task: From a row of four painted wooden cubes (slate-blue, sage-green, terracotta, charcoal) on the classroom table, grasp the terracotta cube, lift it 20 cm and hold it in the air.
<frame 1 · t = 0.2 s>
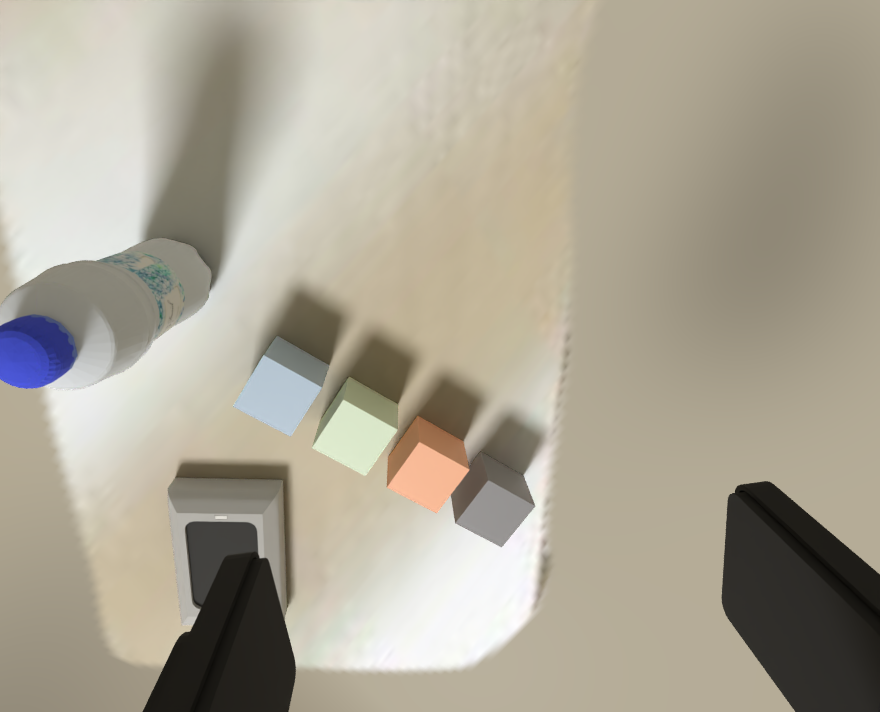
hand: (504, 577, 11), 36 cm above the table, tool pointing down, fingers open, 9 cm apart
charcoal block: (486, 482, 53), on the table
gray dark-screened device: (236, 542, 54), on the table
bottle: (178, 274, 44), on the table
sage-green block: (359, 412, 49), on the table
slate-blue block: (289, 373, 48), on the table
terracotta block: (425, 448, 51), on the table
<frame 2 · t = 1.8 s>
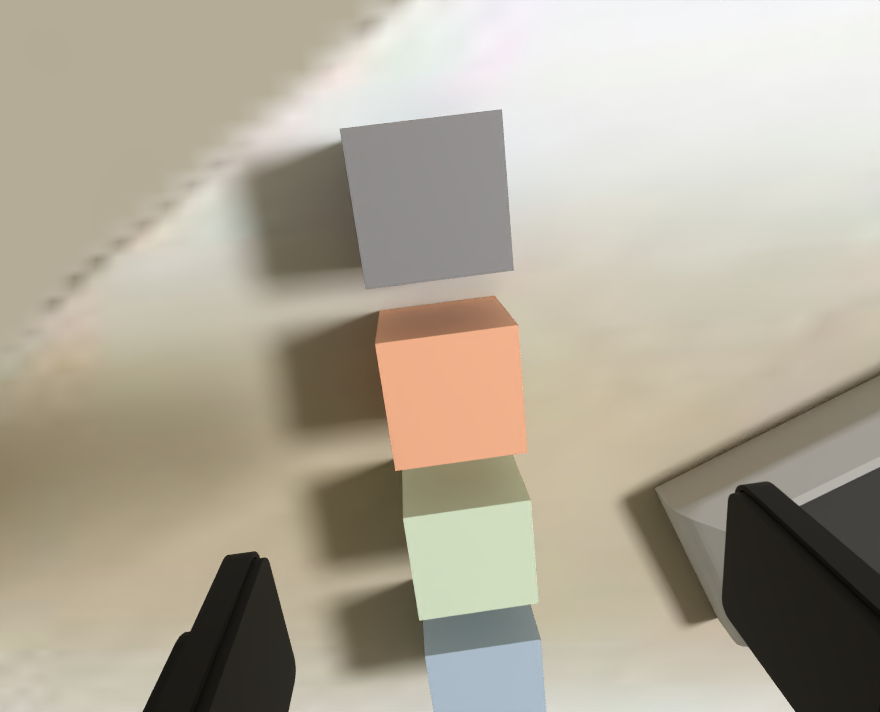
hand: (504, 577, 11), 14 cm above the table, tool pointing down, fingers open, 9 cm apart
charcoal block: (424, 196, 23), on the table
gray dark-screened device: (813, 484, 29), on the table
sage-green block: (460, 494, 27), on the table
slate-blue block: (473, 607, 29), on the table
terracotta block: (443, 357, 25), on the table
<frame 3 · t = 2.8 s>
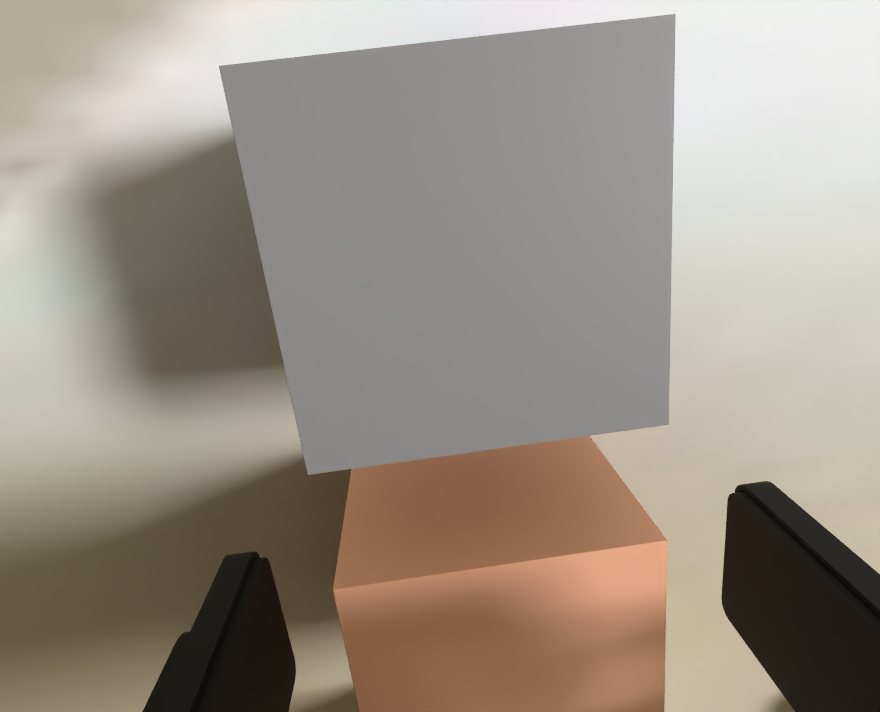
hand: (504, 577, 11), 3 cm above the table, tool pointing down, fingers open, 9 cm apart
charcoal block: (441, 230, 12), on the table
terracotta block: (473, 514, 14), on the table
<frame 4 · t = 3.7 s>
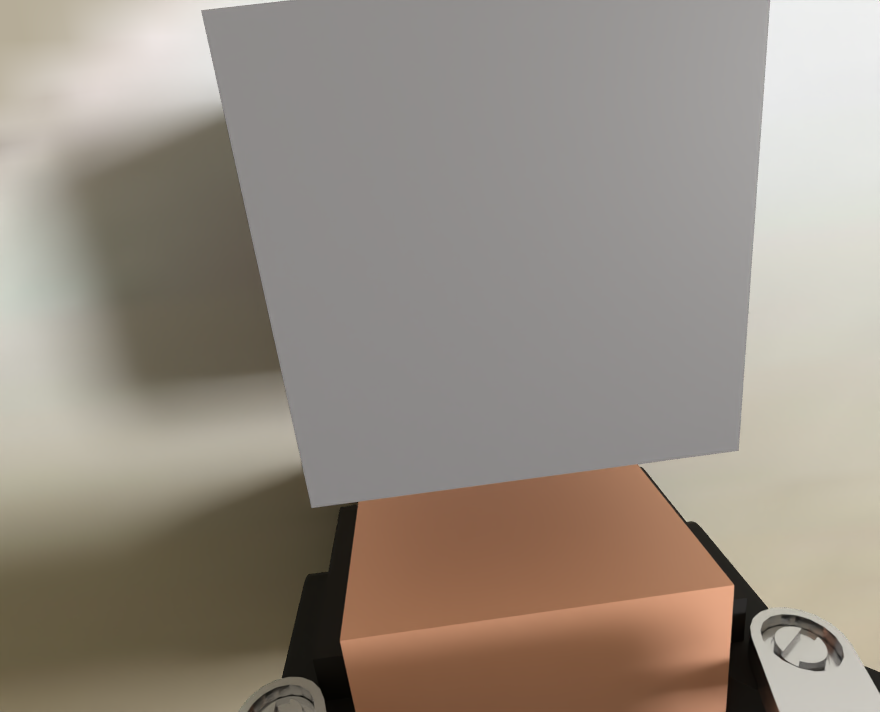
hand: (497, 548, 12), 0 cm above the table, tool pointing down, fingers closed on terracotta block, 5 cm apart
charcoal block: (461, 220, 10), on the table
terracotta block: (493, 533, 12), on the table, touching gripper
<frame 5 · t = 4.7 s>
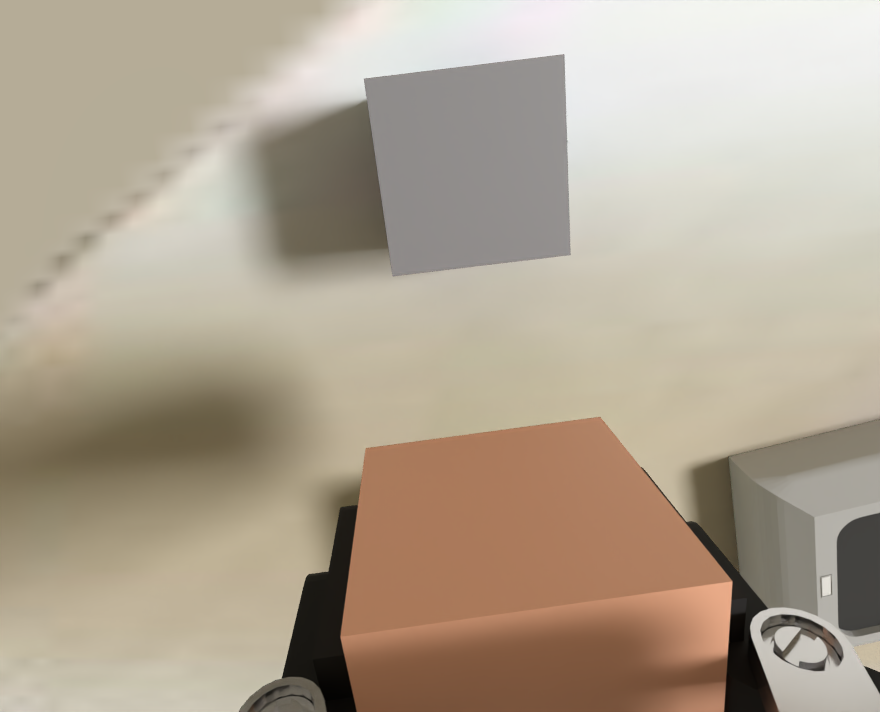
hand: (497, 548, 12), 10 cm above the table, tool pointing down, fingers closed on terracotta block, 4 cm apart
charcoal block: (460, 166, 19), on the table
terracotta block: (493, 531, 13), point 10 cm above the table, touching gripper
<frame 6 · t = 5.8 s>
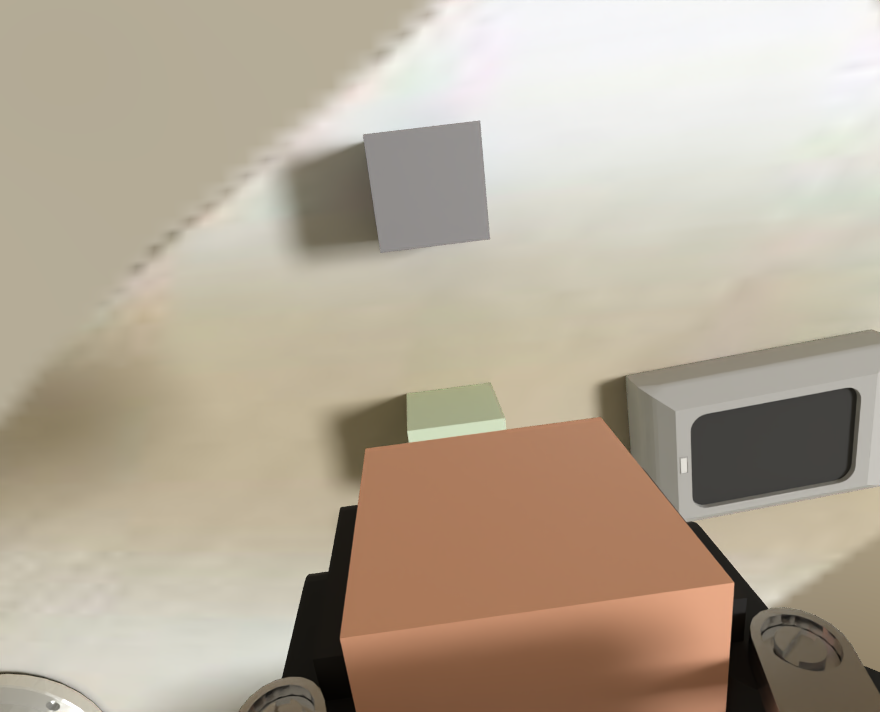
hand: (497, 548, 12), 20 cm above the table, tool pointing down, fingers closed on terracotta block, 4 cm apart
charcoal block: (424, 185, 29), on the table
gray dark-screened device: (742, 419, 35), on the table
sage-green block: (453, 425, 34), on the table
terracotta block: (493, 532, 12), point 20 cm above the table, touching gripper
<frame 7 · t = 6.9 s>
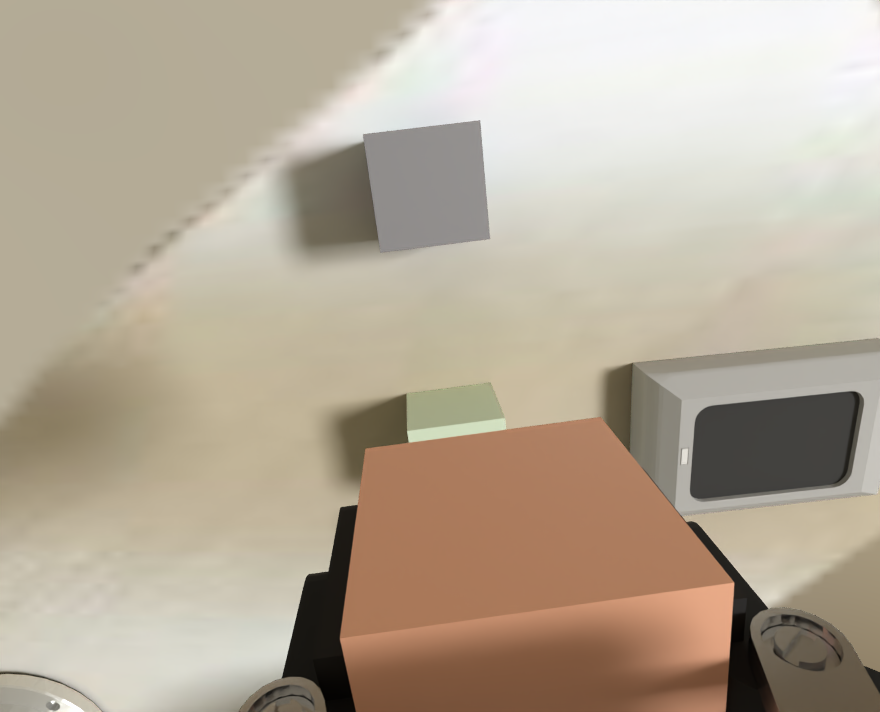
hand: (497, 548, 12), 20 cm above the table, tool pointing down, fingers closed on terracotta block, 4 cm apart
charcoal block: (424, 185, 29), on the table
gray dark-screened device: (742, 418, 35), on the table
sage-green block: (453, 425, 34), on the table
terracotta block: (493, 532, 12), point 20 cm above the table, touching gripper
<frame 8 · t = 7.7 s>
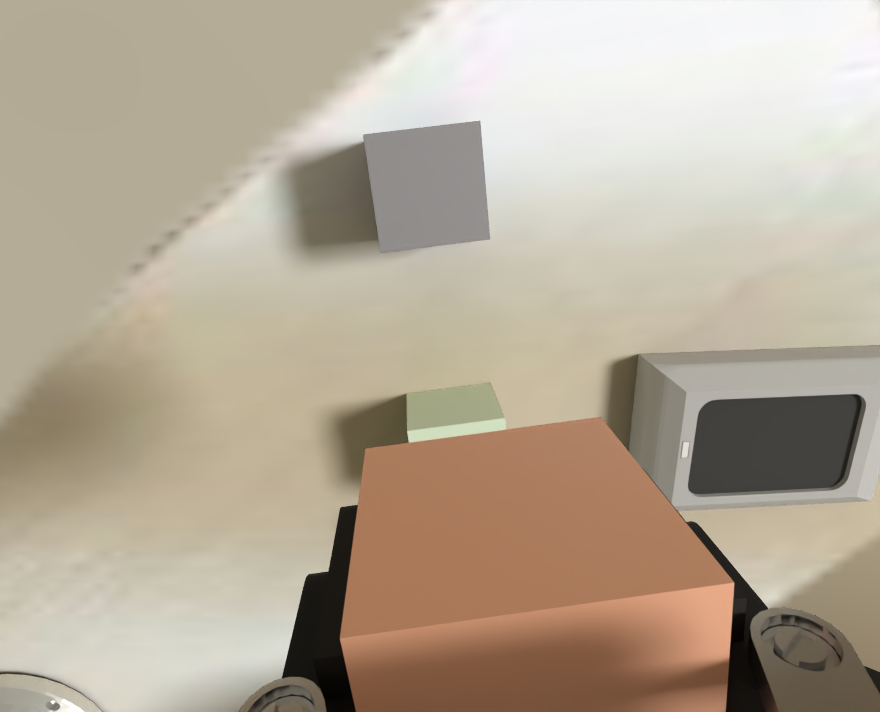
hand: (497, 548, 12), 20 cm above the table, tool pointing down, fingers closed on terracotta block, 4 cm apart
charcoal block: (424, 185, 29), on the table
gray dark-screened device: (742, 417, 35), on the table
sage-green block: (453, 425, 34), on the table
terracotta block: (493, 532, 12), point 20 cm above the table, touching gripper
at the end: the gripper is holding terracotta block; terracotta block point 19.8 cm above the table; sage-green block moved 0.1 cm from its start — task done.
